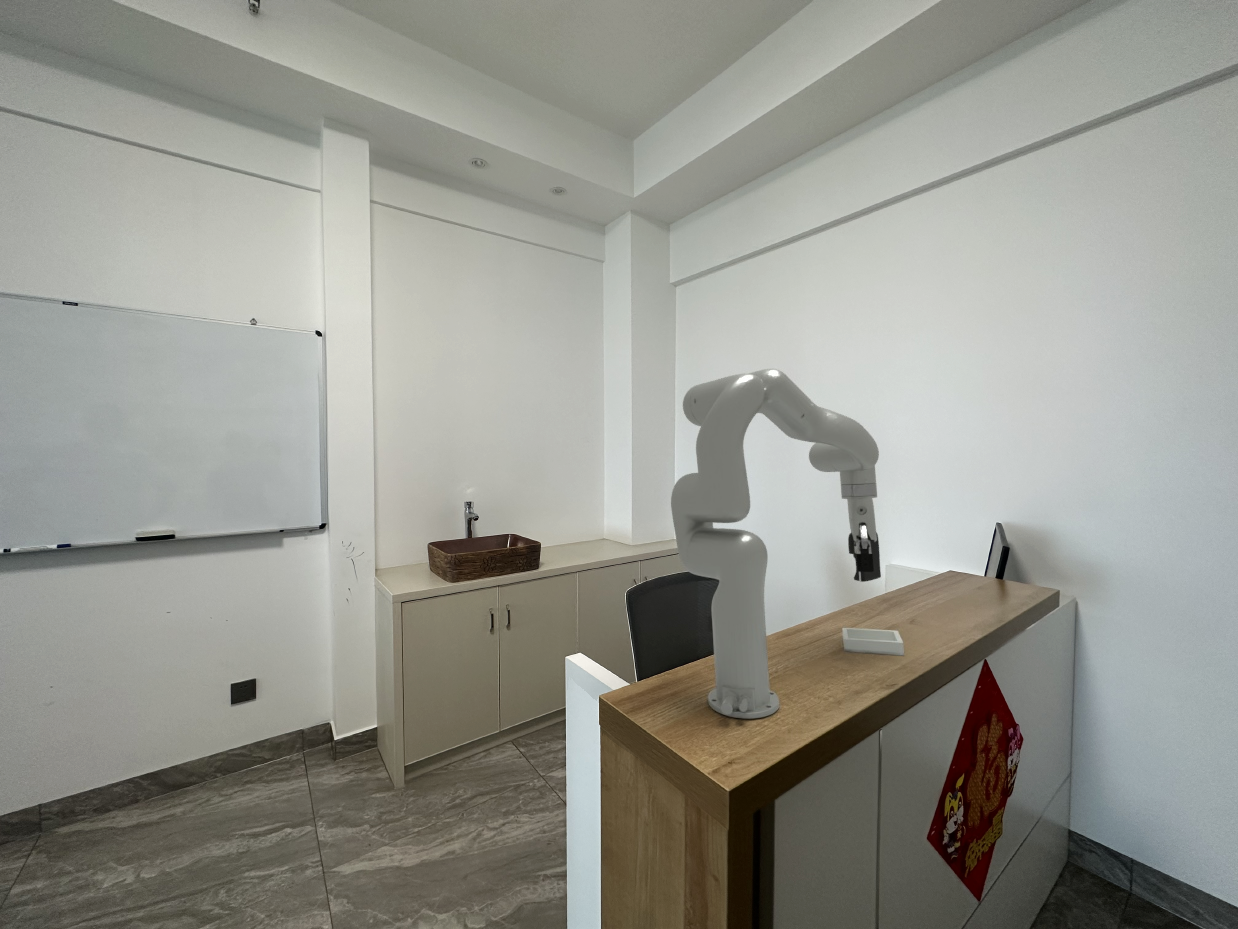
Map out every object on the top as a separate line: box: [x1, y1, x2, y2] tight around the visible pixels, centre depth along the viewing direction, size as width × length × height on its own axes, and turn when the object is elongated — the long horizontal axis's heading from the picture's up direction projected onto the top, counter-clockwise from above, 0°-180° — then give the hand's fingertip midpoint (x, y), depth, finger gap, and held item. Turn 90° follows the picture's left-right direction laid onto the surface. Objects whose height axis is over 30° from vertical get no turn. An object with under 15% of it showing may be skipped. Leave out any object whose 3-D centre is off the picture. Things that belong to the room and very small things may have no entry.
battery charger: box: [847, 530, 882, 583], centre depth 118 cm, size 7×4×11 cm, turn 120°
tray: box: [841, 627, 905, 657], centre depth 118 cm, size 9×12×3 cm
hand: (864, 567), depth 118 cm, fingers closed on battery charger, 7 cm apart
